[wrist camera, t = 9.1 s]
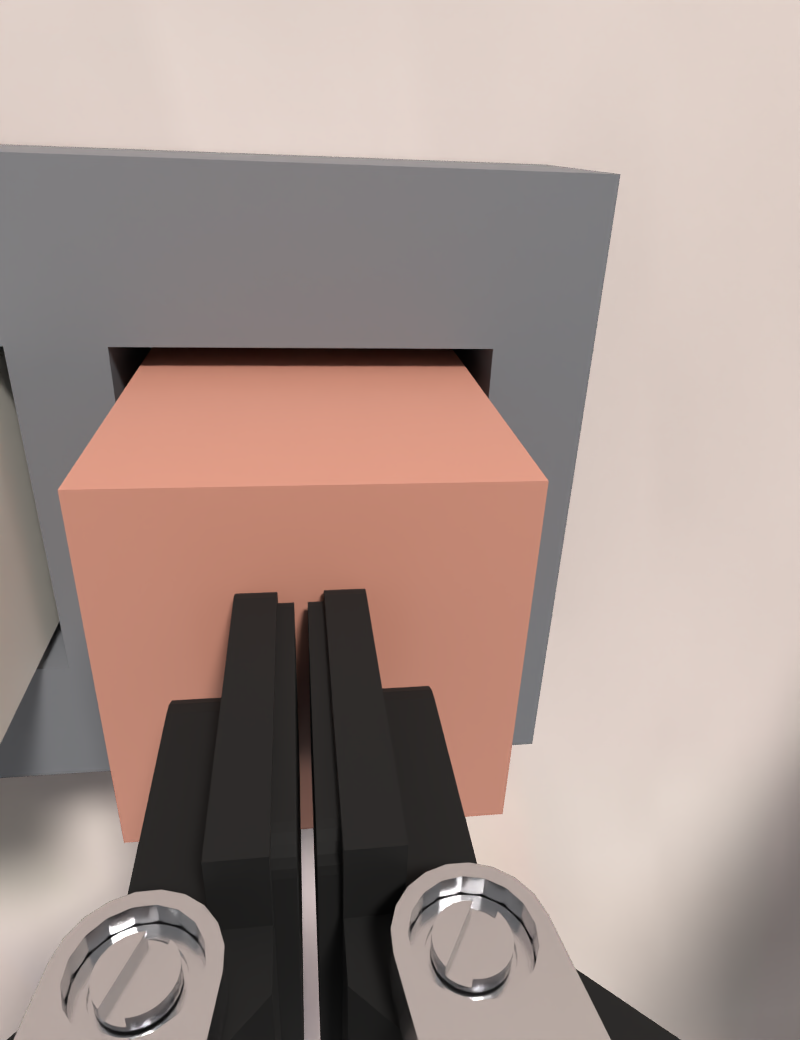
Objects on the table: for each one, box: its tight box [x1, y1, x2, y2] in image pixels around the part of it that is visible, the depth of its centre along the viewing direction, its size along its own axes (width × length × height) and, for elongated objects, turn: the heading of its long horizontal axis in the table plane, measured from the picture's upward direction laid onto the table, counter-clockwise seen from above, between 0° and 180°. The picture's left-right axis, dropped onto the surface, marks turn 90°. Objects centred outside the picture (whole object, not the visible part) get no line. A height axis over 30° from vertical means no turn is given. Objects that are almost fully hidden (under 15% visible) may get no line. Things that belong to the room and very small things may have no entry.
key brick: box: [58, 347, 549, 843], centre depth 13 cm, size 6×6×6 cm
